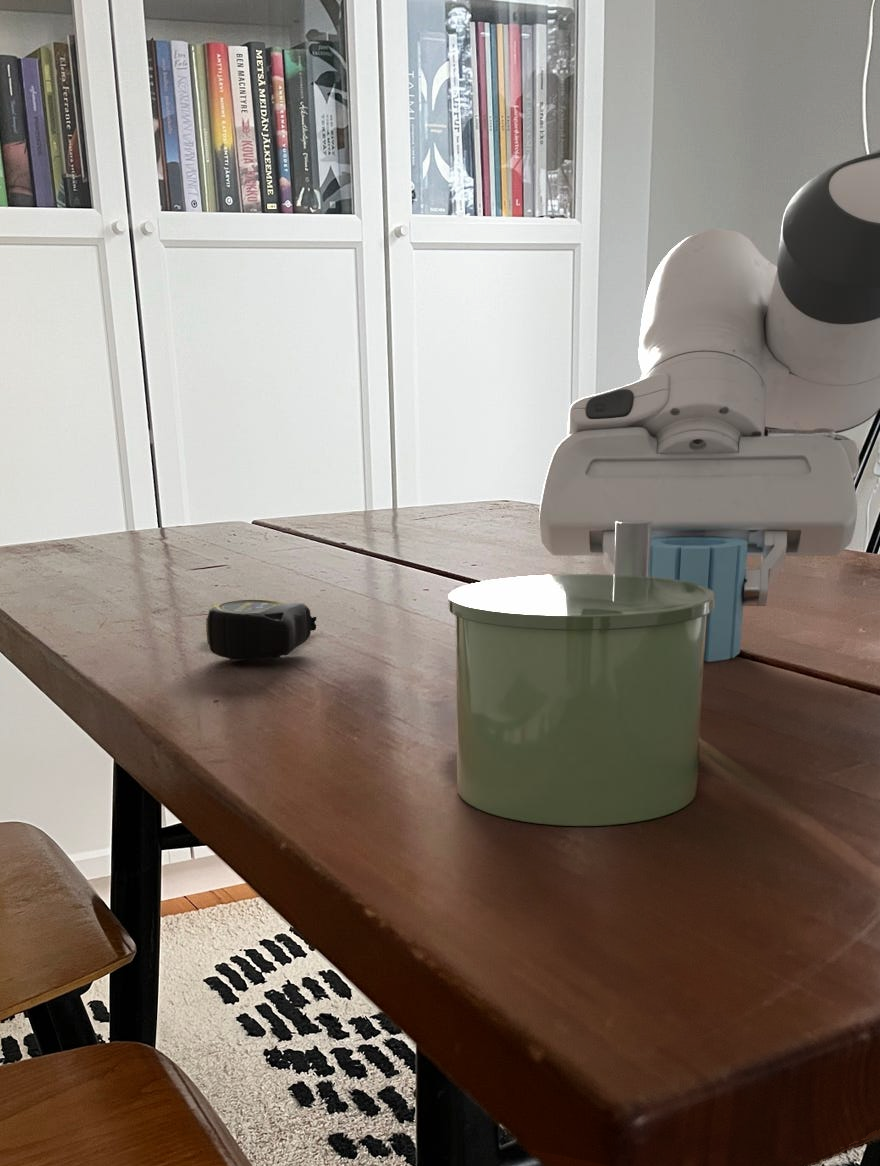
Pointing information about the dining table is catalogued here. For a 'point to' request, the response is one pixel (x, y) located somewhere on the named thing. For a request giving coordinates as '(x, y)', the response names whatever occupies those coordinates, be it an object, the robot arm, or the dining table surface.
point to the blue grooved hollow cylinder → (708, 582)
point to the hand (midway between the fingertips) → (689, 600)
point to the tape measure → (257, 628)
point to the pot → (581, 691)
